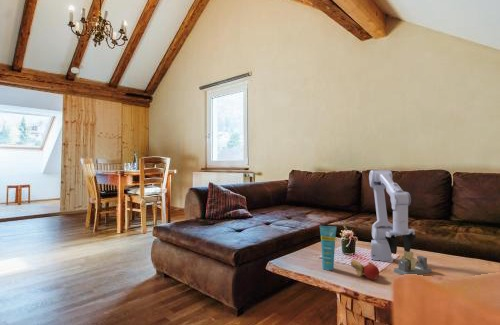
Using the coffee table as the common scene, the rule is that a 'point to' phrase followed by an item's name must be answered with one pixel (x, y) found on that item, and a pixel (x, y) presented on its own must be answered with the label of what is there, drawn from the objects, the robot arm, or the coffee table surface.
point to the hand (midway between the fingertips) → (400, 252)
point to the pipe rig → (419, 268)
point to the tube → (328, 246)
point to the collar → (409, 259)
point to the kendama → (366, 269)
